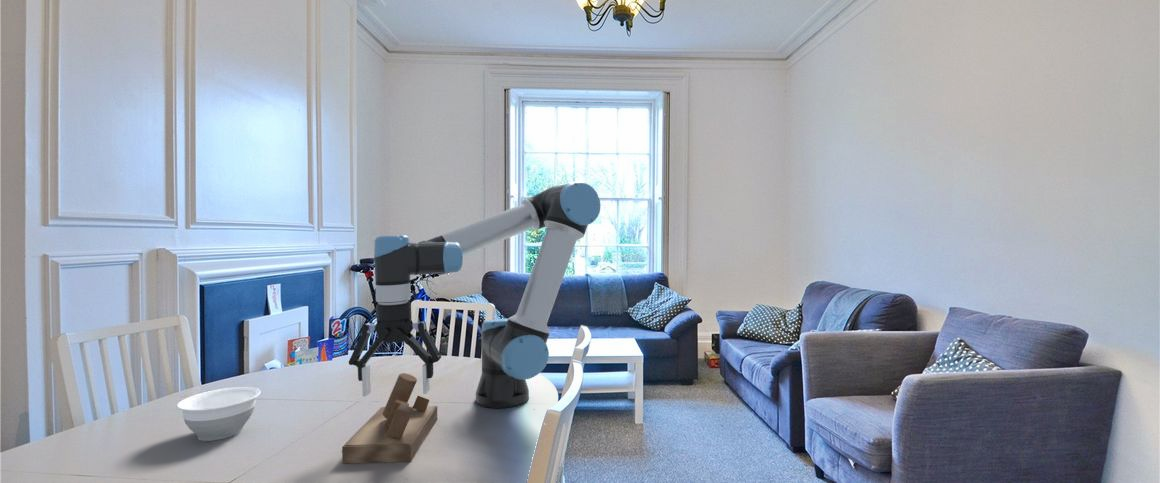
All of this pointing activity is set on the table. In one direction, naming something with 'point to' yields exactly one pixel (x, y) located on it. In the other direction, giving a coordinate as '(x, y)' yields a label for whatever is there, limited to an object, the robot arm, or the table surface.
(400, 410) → the wooden block set
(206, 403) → the bowl
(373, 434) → the plinth
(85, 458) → the table surface
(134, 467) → the table surface
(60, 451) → the table surface
